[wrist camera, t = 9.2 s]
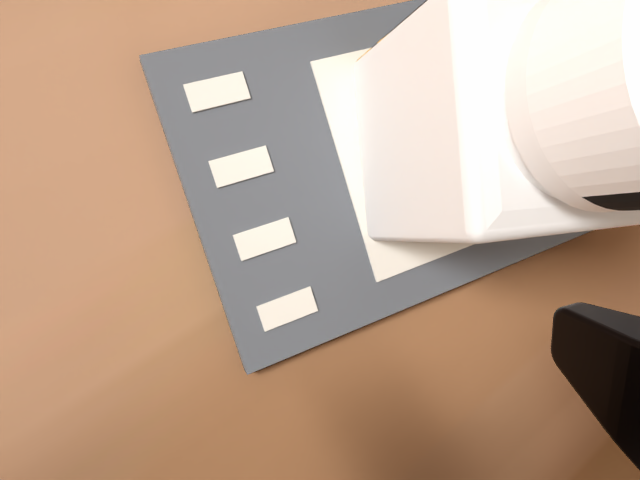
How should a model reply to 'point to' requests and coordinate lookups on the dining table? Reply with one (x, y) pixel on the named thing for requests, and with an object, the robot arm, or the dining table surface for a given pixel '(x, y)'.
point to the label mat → (297, 186)
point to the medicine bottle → (501, 121)
